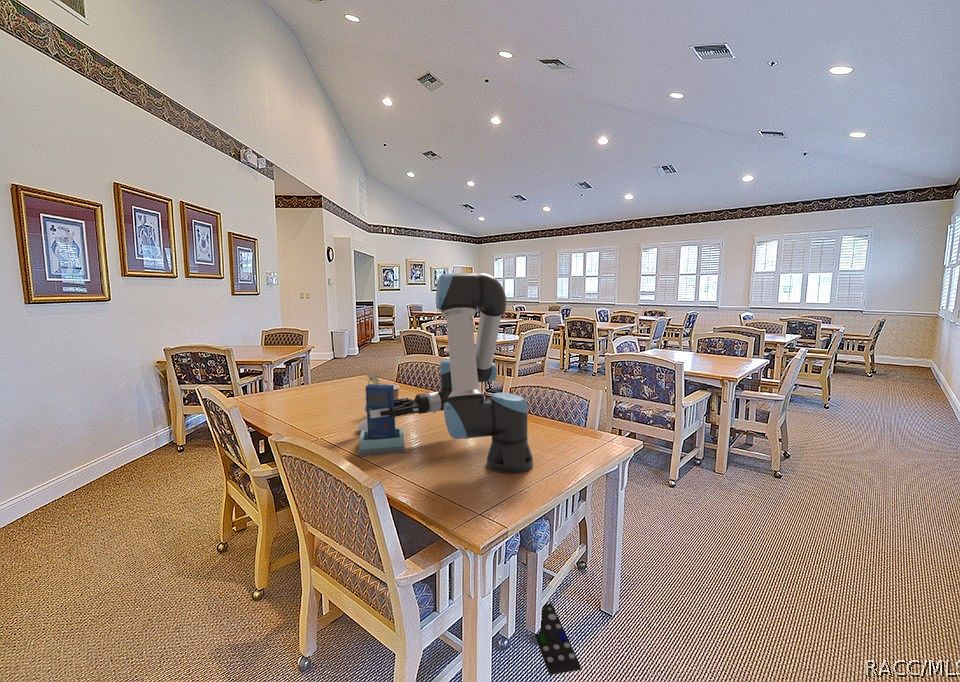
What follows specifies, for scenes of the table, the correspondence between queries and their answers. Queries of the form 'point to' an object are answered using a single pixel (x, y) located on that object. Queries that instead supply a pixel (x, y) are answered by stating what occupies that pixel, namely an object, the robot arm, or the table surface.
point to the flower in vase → (374, 379)
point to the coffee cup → (396, 391)
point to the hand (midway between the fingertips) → (367, 411)
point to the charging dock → (381, 444)
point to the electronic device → (380, 399)
